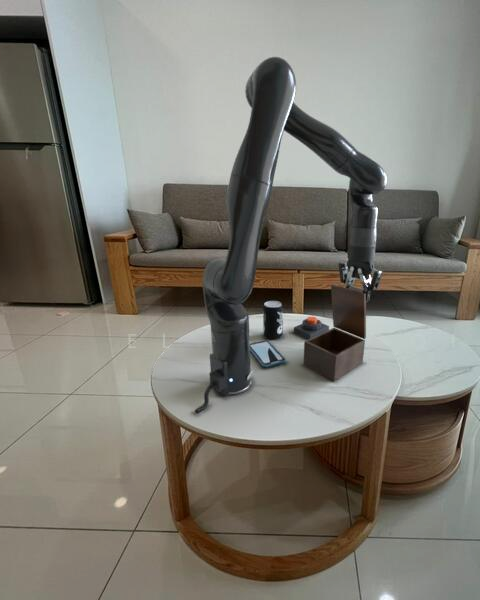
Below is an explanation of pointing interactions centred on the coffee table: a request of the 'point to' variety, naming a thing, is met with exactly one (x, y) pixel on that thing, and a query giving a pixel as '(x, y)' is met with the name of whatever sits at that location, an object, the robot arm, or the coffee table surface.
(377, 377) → the coffee table surface
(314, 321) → the button
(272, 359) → the smartphone
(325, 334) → the keepsake box
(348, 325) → the lid
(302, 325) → the button base
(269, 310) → the beverage can
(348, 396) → the coffee table surface
